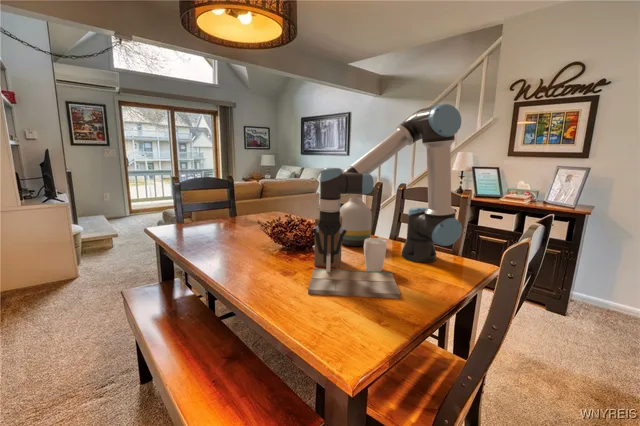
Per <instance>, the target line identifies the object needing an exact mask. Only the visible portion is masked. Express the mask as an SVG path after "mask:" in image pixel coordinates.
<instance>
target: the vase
mask: <svg viewBox="0 0 640 426" xmlns="http://www.w3.org/2000/svg"><path fill="white" fill-rule="evenodd" d="M339 211H340V216H342V227H343V228H345V229H346V233H345V235H344V236H343V240H342V244H344V245H345V246H349V247H361V246H364V240H365V239H367V238H372V237H371V236H372V222H373V221H372V219H373V218H372V215H373V213H372V210H371V208H370V206H369V205H368V204H366V202H364V201H363V199H362V197H350V198H349V199H348V201H347V202H345V203H344V204H343V205H342V206H340V210H339Z"/></svg>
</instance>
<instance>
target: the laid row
mask: <svg viewBox="0 0 640 426" xmlns="http://www.w3.org/2000/svg"><path fill="white" fill-rule="evenodd" d="M307 294H308V295H324V296H325V295H326V296H328V295H329V296H345V297H346V296H347V297H363V298H364V297H365V298H383V299H385V298H386V299H401V292H400V290H399V287H398V284H397V282H395V283H394V282H372V281H351V280H329V279H311V278H310V281H309V285H308V289H307Z"/></svg>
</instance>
